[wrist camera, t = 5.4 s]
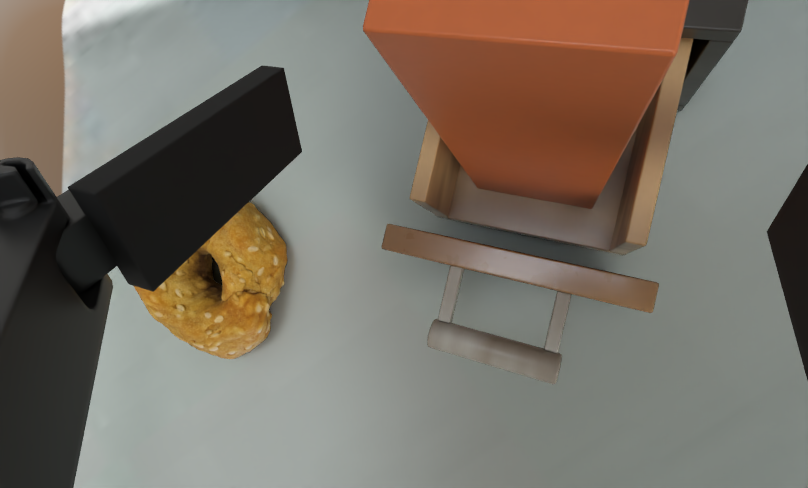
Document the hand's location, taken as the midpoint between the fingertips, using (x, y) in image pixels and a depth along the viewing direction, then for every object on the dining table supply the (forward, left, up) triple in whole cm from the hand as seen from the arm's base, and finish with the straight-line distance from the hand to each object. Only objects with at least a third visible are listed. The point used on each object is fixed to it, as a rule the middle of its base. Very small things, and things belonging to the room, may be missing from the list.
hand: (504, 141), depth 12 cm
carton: (0, -3, -13) cm, 13 cm away
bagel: (+18, +8, -15) cm, 25 cm away
